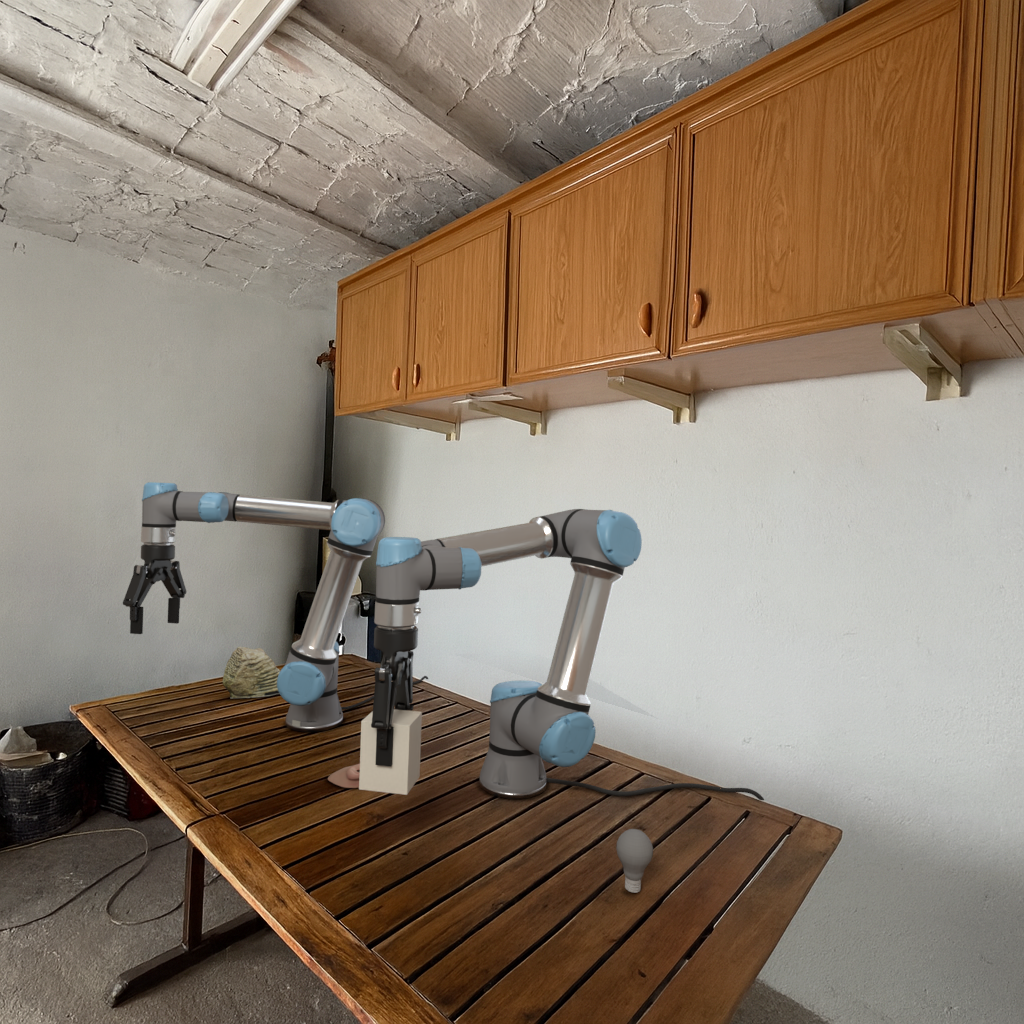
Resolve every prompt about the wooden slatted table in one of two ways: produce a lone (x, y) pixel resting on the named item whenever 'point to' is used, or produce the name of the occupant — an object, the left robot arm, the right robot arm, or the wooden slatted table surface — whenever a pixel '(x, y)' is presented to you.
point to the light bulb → (634, 857)
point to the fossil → (250, 674)
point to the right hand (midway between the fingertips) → (391, 755)
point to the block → (404, 755)
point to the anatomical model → (346, 777)
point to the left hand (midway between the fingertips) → (155, 628)
